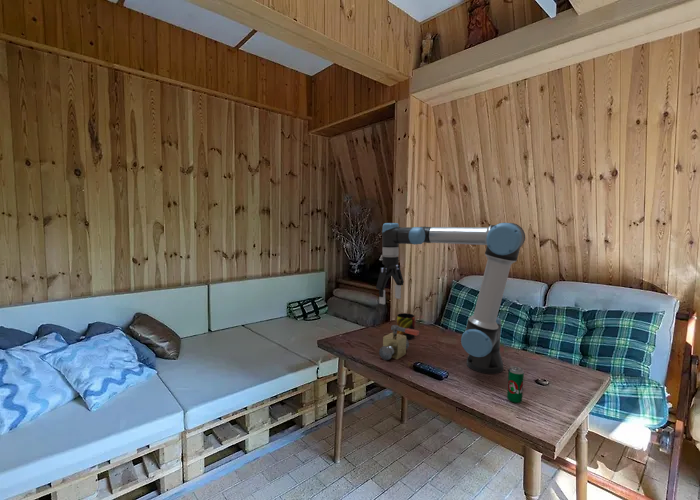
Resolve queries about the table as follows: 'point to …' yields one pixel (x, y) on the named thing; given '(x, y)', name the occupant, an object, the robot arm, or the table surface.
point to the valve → (393, 346)
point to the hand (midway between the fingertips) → (390, 301)
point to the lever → (403, 330)
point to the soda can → (515, 384)
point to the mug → (406, 324)
